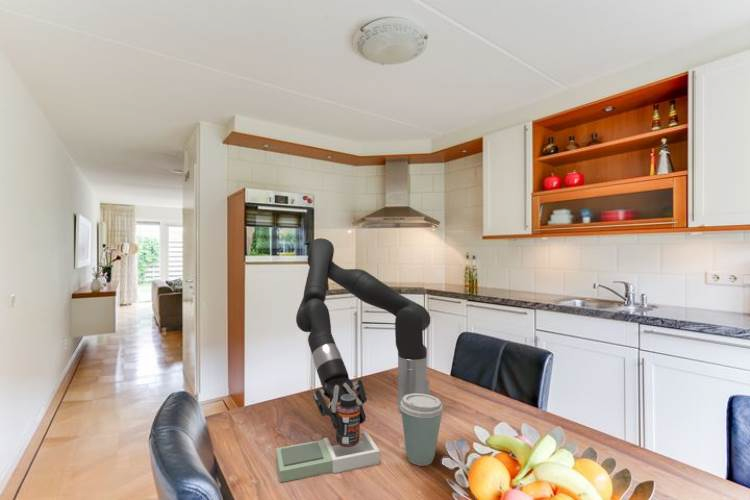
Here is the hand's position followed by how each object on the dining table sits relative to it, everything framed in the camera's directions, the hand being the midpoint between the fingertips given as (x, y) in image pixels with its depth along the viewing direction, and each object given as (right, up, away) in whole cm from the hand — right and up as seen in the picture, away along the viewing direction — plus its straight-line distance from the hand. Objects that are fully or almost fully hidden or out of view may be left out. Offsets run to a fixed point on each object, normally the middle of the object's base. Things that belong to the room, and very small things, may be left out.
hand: (351, 425), depth 90 cm
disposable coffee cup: (+17, -8, -1) cm, 19 cm away
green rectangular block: (-11, -8, -3) cm, 14 cm away
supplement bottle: (-1, -5, +1) cm, 5 cm away
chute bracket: (0, -8, +1) cm, 8 cm away
